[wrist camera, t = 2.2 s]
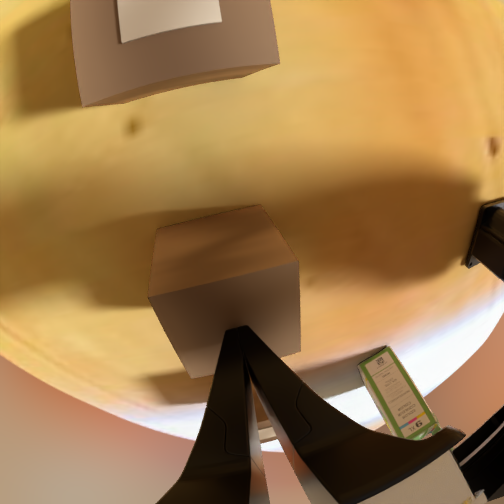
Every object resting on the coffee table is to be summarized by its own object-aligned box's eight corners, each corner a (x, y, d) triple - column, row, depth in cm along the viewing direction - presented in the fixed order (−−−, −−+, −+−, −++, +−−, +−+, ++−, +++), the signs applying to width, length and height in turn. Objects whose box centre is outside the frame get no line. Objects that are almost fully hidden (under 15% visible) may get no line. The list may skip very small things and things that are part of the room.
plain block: (260, 203, 13) (298, 260, 9) (270, 284, 16) (300, 351, 12) (157, 228, 12) (147, 297, 8) (185, 305, 15) (191, 378, 11)
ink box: (354, 365, 24) (416, 477, 12) (389, 343, 23) (457, 449, 12) (364, 386, 27) (412, 476, 16) (392, 368, 27) (445, 454, 16)
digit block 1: (226, -19, 7) (254, -76, 3) (241, 77, 10) (281, 63, 6) (108, 6, 6) (66, -38, 2) (121, 104, 9) (77, 108, 5)
